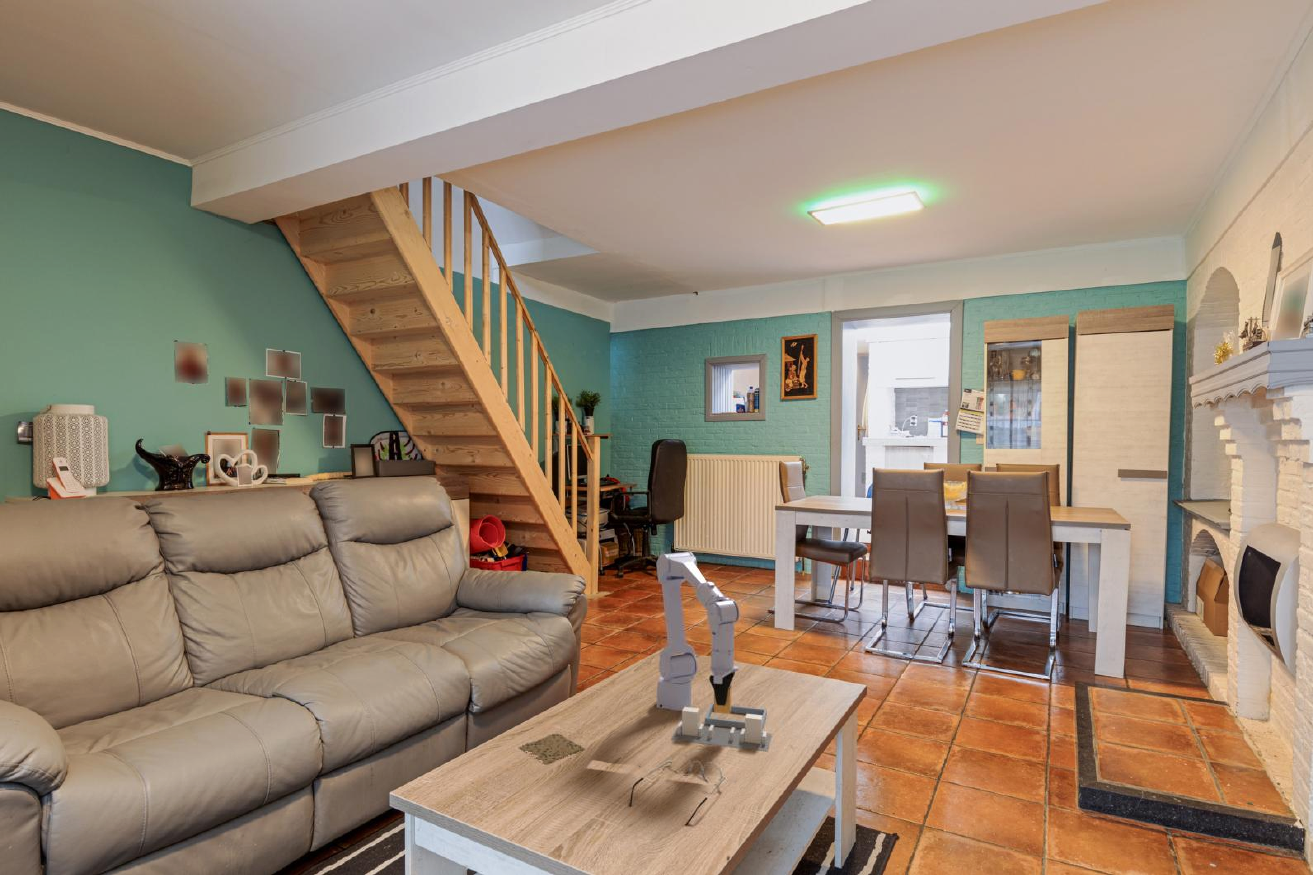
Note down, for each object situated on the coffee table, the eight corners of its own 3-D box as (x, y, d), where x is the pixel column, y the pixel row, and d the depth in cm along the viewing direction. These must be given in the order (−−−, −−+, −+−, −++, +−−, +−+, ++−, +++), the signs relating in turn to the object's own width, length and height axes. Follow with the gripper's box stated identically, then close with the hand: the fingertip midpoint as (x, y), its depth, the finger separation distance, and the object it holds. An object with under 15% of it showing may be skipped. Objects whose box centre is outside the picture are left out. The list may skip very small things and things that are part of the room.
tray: (704, 729, 182) (704, 717, 182) (711, 713, 192) (711, 703, 192) (762, 736, 178) (762, 724, 178) (766, 720, 188) (766, 709, 188)
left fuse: (682, 734, 175) (682, 710, 175) (684, 729, 178) (684, 706, 178) (697, 735, 174) (697, 712, 174) (699, 731, 177) (699, 708, 177)
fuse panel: (670, 745, 172) (671, 731, 172) (679, 728, 182) (679, 715, 182) (767, 757, 166) (768, 743, 166) (771, 739, 176) (771, 725, 176)
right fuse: (745, 741, 171) (745, 717, 171) (746, 737, 174) (746, 713, 174) (761, 743, 170) (761, 719, 170) (762, 739, 173) (762, 715, 173)
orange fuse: (713, 711, 173) (714, 688, 173) (715, 707, 176) (715, 684, 176) (729, 713, 172) (730, 689, 172) (731, 709, 175) (731, 686, 175)
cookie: (517, 749, 170) (517, 745, 170) (557, 735, 179) (557, 731, 179) (544, 767, 162) (544, 763, 162) (586, 750, 170) (586, 746, 170)
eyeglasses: (730, 788, 153) (730, 765, 153) (691, 829, 137) (691, 804, 137) (667, 769, 161) (667, 748, 161) (623, 806, 145) (624, 783, 145)
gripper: (734, 659, 166) (733, 715, 166) (742, 641, 180) (741, 693, 180) (705, 656, 168) (704, 712, 168) (715, 639, 182) (715, 690, 182)
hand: (722, 702), depth 174 cm, fingers closed on orange fuse, 3 cm apart
